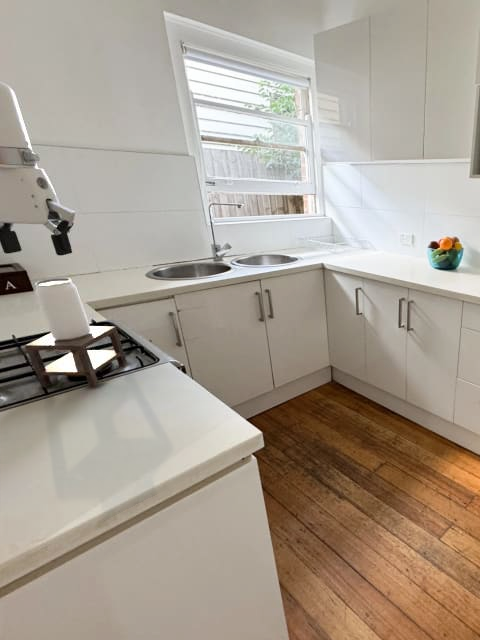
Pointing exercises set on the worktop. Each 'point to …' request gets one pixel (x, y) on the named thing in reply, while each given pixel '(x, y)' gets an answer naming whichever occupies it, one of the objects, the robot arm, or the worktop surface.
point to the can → (62, 308)
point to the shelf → (76, 355)
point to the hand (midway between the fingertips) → (39, 253)
